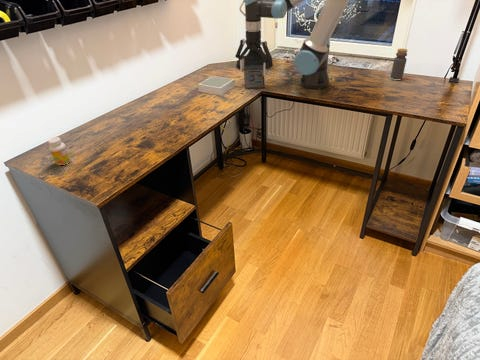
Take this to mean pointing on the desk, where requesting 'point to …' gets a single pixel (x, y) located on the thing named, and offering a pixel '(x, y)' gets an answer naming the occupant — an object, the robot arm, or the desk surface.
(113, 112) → the desk surface
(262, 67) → the small box
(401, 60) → the bottle
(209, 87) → the base
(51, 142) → the supplement bottle
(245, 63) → the banker's lamp
